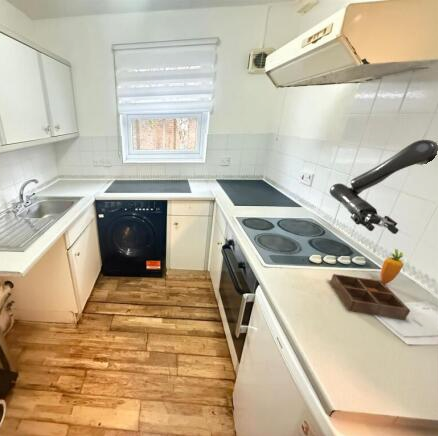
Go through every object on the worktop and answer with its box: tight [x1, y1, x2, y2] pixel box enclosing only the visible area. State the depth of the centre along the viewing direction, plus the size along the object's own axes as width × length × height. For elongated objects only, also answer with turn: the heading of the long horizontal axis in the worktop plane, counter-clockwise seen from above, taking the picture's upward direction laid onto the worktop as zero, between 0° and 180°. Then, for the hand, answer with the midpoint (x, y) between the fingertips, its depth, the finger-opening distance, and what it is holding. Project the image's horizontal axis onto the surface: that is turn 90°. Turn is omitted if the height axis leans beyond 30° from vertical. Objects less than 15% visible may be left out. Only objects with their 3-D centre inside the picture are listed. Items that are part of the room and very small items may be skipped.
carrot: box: [380, 248, 404, 285], centre depth 89 cm, size 5×5×15 cm
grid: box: [329, 273, 411, 321], centre depth 84 cm, size 15×15×4 cm
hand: (384, 230), depth 93 cm, fingers open, 8 cm apart
